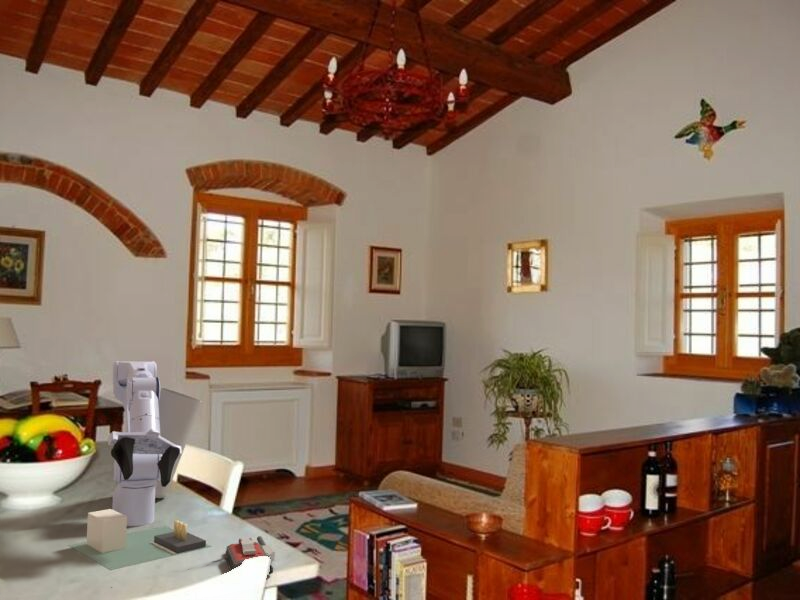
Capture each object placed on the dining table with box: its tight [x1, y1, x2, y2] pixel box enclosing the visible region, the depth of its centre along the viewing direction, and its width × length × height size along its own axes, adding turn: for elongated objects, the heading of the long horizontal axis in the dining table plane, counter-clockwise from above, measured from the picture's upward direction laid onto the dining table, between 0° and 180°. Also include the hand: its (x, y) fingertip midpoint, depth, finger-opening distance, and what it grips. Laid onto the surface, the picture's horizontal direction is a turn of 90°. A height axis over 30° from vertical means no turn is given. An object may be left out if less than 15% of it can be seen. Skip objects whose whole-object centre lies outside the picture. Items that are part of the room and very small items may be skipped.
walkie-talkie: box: [225, 535, 276, 575], centre depth 135 cm, size 9×4×20 cm
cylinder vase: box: [155, 386, 203, 499], centre depth 179 cm, size 12×12×25 cm
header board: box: [68, 520, 212, 571], centre depth 139 cm, size 18×20×5 cm
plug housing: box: [86, 508, 128, 553], centre depth 138 cm, size 7×4×6 cm, turn 46°
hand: (147, 480), depth 137 cm, fingers open, 7 cm apart
